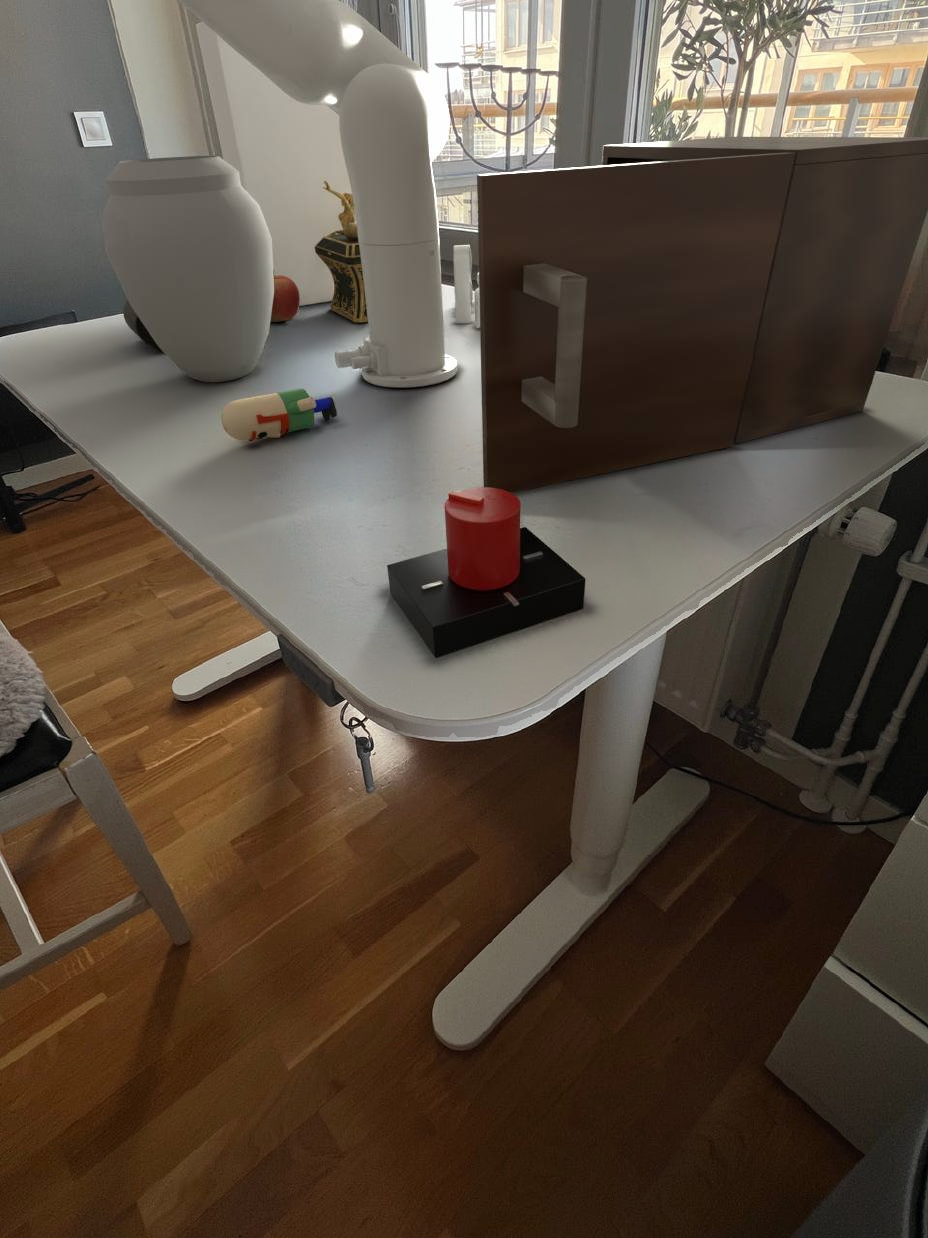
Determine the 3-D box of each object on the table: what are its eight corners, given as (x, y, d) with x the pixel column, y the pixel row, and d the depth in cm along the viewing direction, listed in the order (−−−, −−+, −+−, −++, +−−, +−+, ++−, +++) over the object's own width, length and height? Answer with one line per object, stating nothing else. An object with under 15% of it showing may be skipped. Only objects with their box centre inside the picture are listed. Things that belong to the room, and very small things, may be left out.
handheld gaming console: (473, 314, 122) (472, 323, 109) (458, 315, 122) (455, 323, 109) (471, 244, 117) (470, 244, 103) (455, 245, 117) (452, 245, 104)
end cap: (131, 342, 107) (117, 296, 103) (177, 335, 110) (164, 290, 106) (144, 356, 100) (129, 307, 96) (192, 348, 103) (179, 300, 99)
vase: (294, 348, 101) (258, 151, 86) (296, 388, 86) (253, 157, 71) (159, 361, 98) (98, 159, 83) (136, 405, 83) (57, 167, 68)
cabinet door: (782, 473, 61) (868, 155, 46) (520, 533, 54) (526, 181, 39) (726, 442, 67) (785, 152, 52) (483, 493, 60) (476, 174, 45)
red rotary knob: (531, 562, 46) (533, 491, 43) (498, 598, 42) (497, 524, 39) (471, 546, 48) (468, 477, 45) (434, 579, 45) (429, 507, 41)
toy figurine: (321, 432, 79) (221, 453, 73) (310, 392, 78) (207, 411, 72) (349, 419, 72) (240, 441, 66) (337, 376, 71) (225, 394, 65)
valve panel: (438, 663, 42) (436, 629, 40) (387, 591, 48) (383, 559, 47) (587, 613, 45) (590, 580, 44) (521, 552, 52) (522, 521, 50)
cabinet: (734, 444, 66) (798, 149, 52) (586, 375, 85) (602, 145, 71) (863, 410, 72) (952, 137, 58) (697, 353, 91) (733, 136, 77)
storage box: (269, 310, 122) (212, 15, 98) (252, 300, 129) (195, 24, 105) (374, 294, 130) (344, 18, 106) (352, 285, 137) (320, 26, 113)
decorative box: (321, 308, 122) (301, 179, 110) (370, 301, 125) (356, 174, 113) (363, 331, 107) (345, 185, 96) (417, 322, 111) (406, 180, 99)
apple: (282, 313, 120) (272, 263, 115) (313, 318, 116) (305, 266, 111) (246, 323, 115) (235, 271, 110) (278, 328, 111) (268, 275, 106)
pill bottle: (507, 324, 107) (507, 271, 103) (493, 331, 105) (493, 276, 100) (484, 322, 109) (483, 269, 105) (470, 328, 107) (468, 274, 102)
